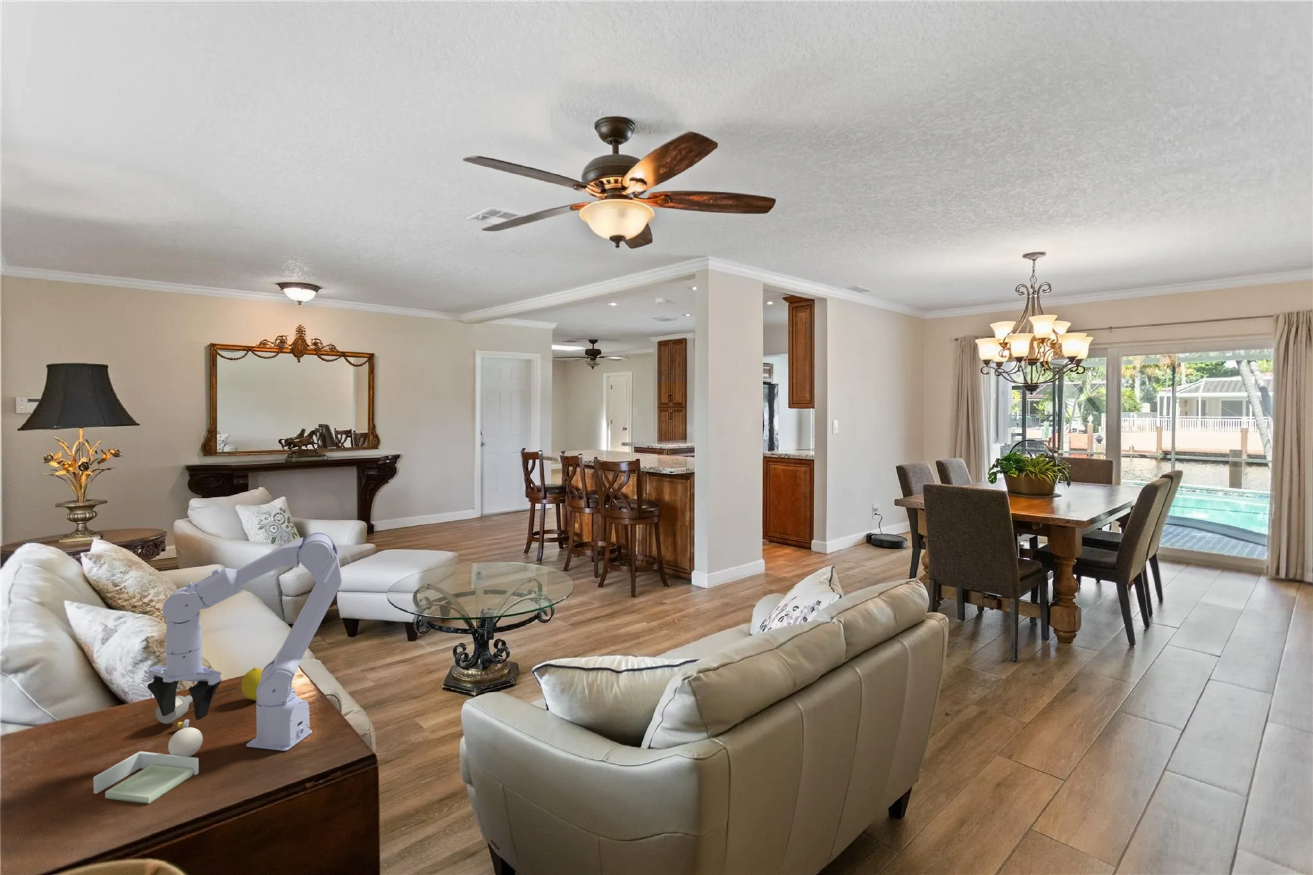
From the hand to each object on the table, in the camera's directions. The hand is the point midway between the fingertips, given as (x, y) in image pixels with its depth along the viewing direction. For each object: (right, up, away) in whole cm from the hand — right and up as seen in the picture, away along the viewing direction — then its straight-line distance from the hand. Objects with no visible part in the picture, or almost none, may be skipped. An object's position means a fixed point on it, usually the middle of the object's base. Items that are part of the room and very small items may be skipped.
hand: (184, 715), depth 128 cm
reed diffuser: (-12, -5, +9) cm, 16 cm away
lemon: (-1, -7, +25) cm, 26 cm away
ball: (0, -8, 0) cm, 8 cm away
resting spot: (+1, -9, -10) cm, 13 cm away
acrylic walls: (0, -9, -9) cm, 12 cm away
